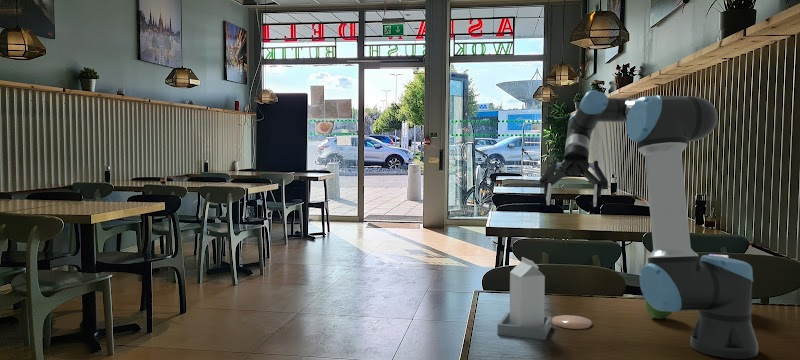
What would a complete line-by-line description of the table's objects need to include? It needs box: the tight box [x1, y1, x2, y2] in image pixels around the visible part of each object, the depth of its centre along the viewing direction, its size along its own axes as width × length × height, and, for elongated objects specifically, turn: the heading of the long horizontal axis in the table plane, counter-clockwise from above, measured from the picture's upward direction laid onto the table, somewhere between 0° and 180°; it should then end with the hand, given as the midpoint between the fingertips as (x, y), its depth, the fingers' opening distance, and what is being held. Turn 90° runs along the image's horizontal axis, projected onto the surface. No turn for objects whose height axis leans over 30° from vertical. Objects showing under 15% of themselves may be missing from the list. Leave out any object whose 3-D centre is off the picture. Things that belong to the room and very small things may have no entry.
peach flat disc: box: [551, 314, 593, 330], centre depth 182 cm, size 11×11×1 cm
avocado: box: [645, 300, 673, 320], centre depth 186 cm, size 8×8×12 cm
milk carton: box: [509, 256, 546, 328], centre depth 174 cm, size 7×7×19 cm
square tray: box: [496, 312, 553, 341], centre depth 175 cm, size 13×13×3 cm
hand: (570, 203), depth 189 cm, fingers open, 13 cm apart
